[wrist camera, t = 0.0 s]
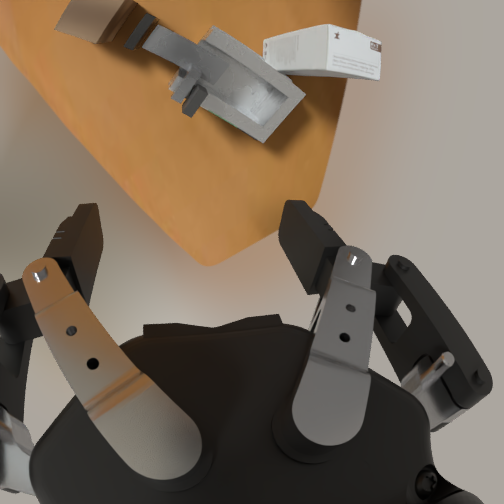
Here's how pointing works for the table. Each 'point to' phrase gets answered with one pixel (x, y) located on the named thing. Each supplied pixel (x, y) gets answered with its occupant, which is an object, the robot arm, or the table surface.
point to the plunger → (177, 54)
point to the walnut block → (95, 19)
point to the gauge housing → (244, 88)
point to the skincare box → (324, 53)
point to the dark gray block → (194, 100)
